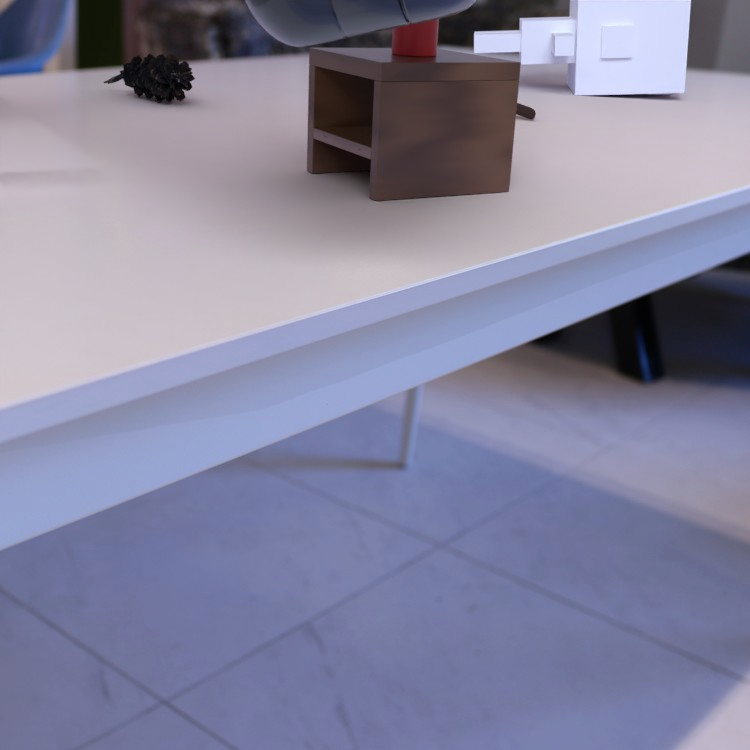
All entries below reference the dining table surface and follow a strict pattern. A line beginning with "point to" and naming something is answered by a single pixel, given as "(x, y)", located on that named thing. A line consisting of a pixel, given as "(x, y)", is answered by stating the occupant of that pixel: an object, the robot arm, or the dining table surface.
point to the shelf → (413, 120)
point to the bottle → (416, 39)
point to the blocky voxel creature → (605, 45)
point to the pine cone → (157, 77)
